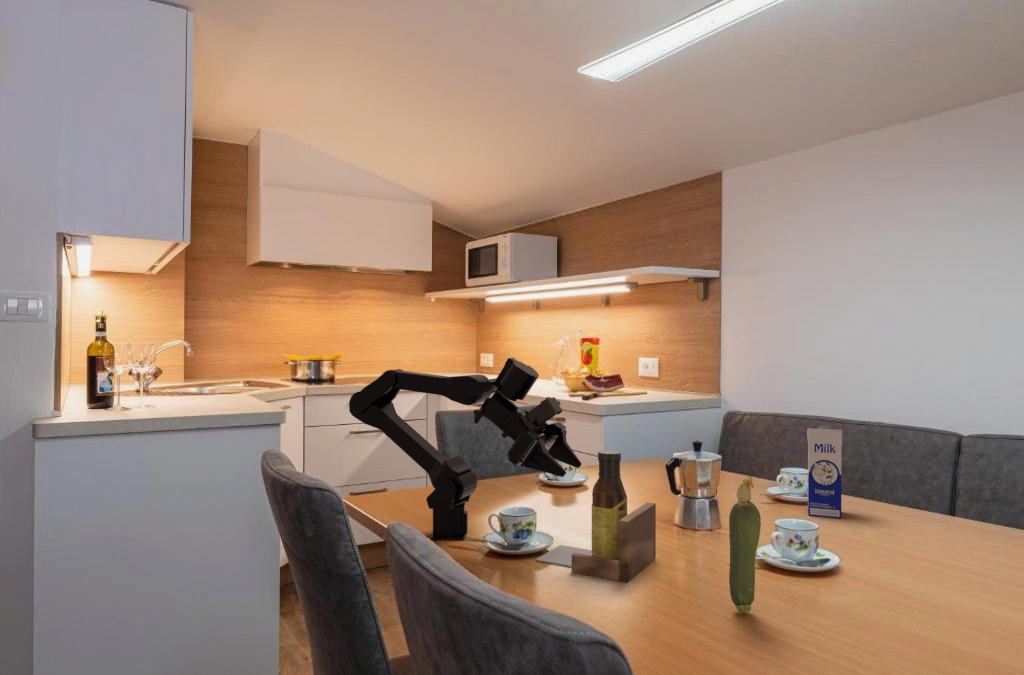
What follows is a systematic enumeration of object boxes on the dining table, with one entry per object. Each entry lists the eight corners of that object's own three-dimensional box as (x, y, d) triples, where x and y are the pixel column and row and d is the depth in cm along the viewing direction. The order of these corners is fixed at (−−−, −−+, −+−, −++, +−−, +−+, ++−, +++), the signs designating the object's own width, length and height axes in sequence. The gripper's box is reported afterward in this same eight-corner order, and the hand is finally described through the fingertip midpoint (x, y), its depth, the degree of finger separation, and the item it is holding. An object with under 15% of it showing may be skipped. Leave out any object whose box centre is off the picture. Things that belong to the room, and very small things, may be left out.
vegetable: (724, 606, 104) (724, 472, 104) (752, 605, 104) (752, 472, 104) (736, 618, 100) (736, 478, 100) (765, 617, 100) (766, 478, 100)
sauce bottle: (626, 571, 119) (626, 455, 119) (589, 569, 120) (590, 454, 120) (627, 559, 126) (628, 449, 126) (593, 557, 127) (593, 448, 127)
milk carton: (807, 515, 157) (807, 427, 157) (806, 508, 163) (807, 423, 163) (842, 518, 154) (842, 428, 154) (840, 511, 161) (840, 425, 161)
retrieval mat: (535, 561, 125) (535, 559, 125) (560, 546, 133) (560, 544, 133) (576, 568, 121) (576, 566, 121) (598, 553, 129) (598, 551, 129)
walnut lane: (571, 572, 119) (571, 513, 119) (603, 549, 131) (603, 496, 131) (627, 582, 114) (627, 521, 114) (655, 558, 126) (655, 503, 126)
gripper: (512, 389, 124) (581, 443, 119) (549, 382, 142) (610, 430, 136) (480, 438, 127) (546, 493, 122) (520, 426, 144) (579, 474, 139)
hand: (572, 470), depth 130 cm, fingers open, 9 cm apart
